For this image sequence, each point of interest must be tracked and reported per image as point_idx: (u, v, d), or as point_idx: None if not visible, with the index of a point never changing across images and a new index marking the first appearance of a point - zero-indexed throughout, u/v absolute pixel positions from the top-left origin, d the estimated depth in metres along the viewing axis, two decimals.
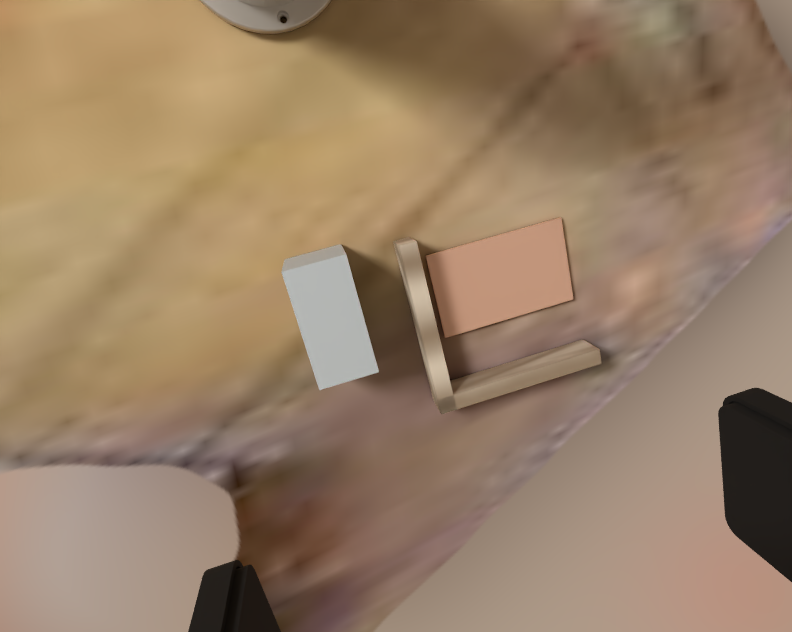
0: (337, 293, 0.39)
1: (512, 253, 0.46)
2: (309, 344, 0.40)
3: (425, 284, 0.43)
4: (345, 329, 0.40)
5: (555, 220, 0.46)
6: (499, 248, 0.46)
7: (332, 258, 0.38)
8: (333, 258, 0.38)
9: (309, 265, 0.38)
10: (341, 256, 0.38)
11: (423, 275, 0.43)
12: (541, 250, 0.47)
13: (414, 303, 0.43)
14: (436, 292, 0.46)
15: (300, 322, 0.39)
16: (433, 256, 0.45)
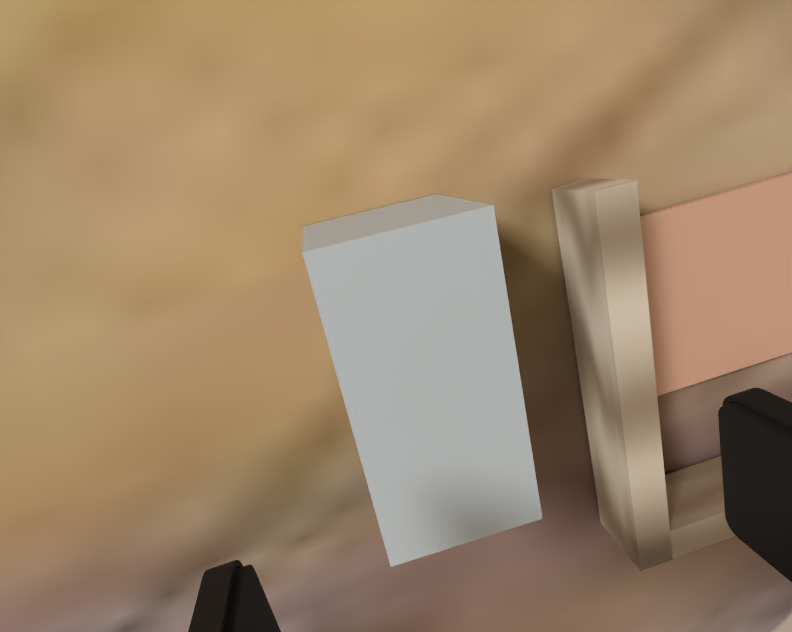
0: (459, 318, 0.14)
1: None
2: (373, 456, 0.14)
3: (643, 289, 0.18)
4: (470, 416, 0.15)
5: None
6: (776, 207, 0.21)
7: (452, 216, 0.13)
8: (456, 216, 0.13)
9: (386, 235, 0.13)
10: (479, 211, 0.13)
11: (641, 267, 0.17)
12: None
13: (613, 335, 0.18)
14: None
15: (352, 398, 0.14)
16: None
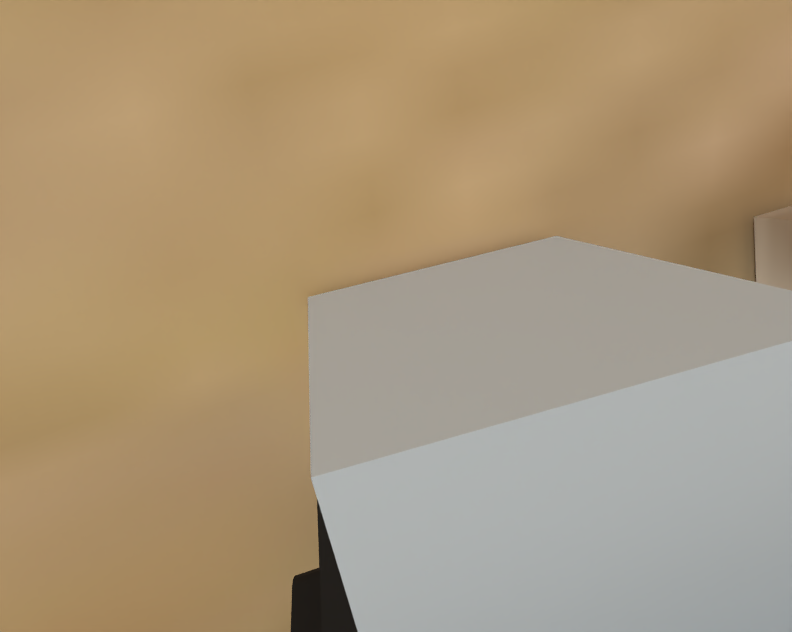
0: (740, 611, 0.05)
1: None
2: None
3: None
4: None
5: None
6: None
7: (766, 347, 0.04)
8: (778, 348, 0.04)
9: (576, 412, 0.04)
10: None
11: None
12: None
13: None
14: None
15: None
16: None
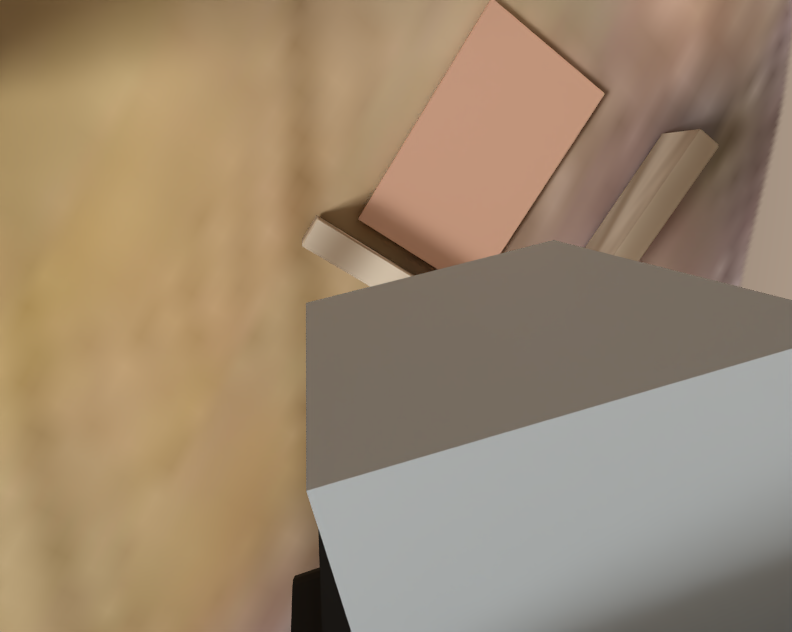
0: (736, 619, 0.05)
1: (467, 111, 0.27)
2: None
3: (382, 261, 0.25)
4: None
5: (487, 10, 0.26)
6: (443, 120, 0.27)
7: (759, 357, 0.04)
8: (771, 358, 0.04)
9: (570, 424, 0.04)
10: None
11: (368, 253, 0.25)
12: (503, 69, 0.27)
13: None
14: (413, 250, 0.28)
15: None
16: (367, 211, 0.27)
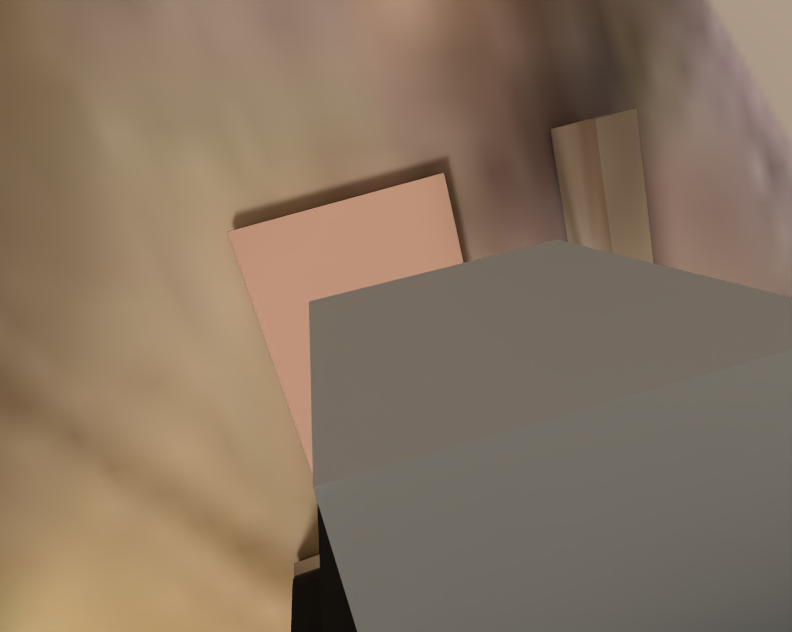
0: (741, 618, 0.05)
1: None
2: None
3: None
4: None
5: (236, 247, 0.18)
6: None
7: (768, 356, 0.04)
8: (780, 357, 0.04)
9: (578, 422, 0.04)
10: None
11: None
12: (315, 275, 0.19)
13: None
14: None
15: None
16: None
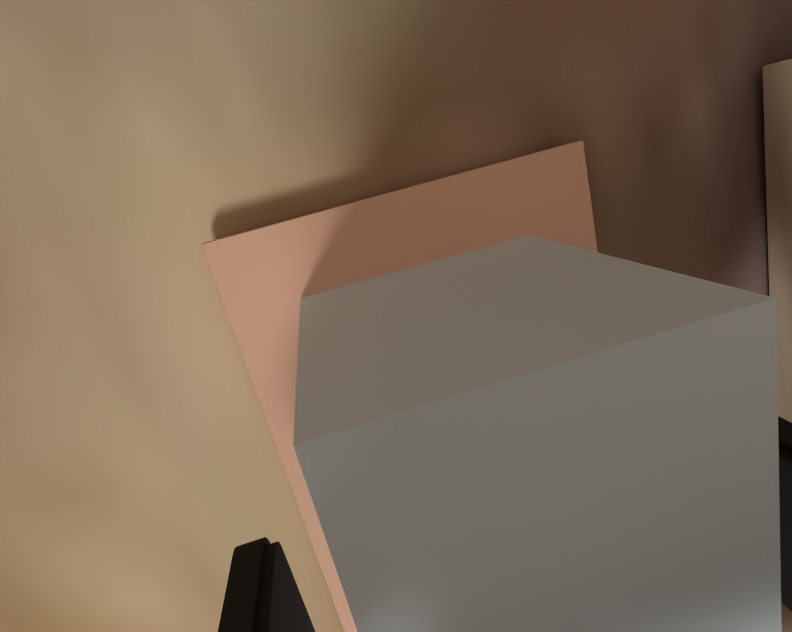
0: (668, 556, 0.06)
1: None
2: None
3: None
4: None
5: (216, 272, 0.10)
6: None
7: (673, 329, 0.05)
8: (683, 330, 0.05)
9: (511, 387, 0.05)
10: (740, 314, 0.05)
11: None
12: None
13: None
14: None
15: None
16: None
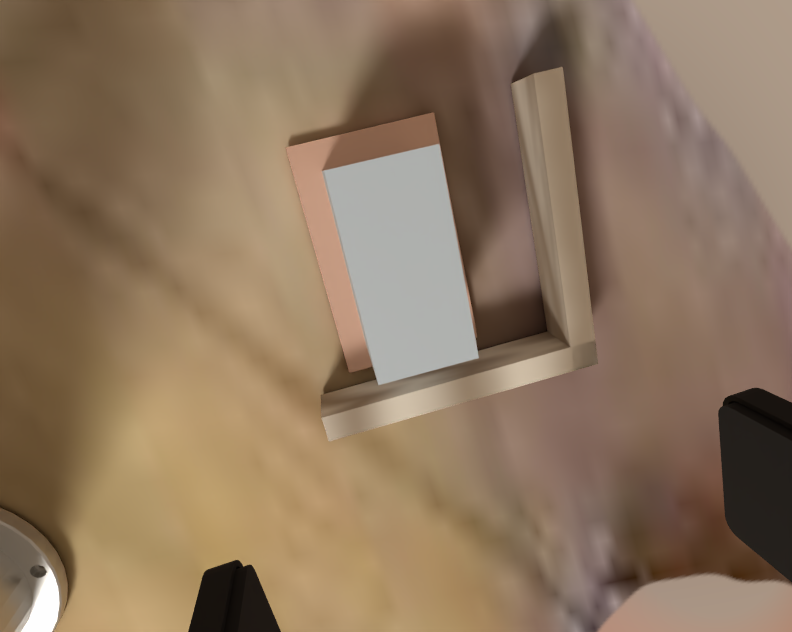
0: (419, 215, 0.22)
1: None
2: (366, 305, 0.23)
3: (388, 400, 0.28)
4: (428, 282, 0.23)
5: (290, 158, 0.26)
6: (338, 258, 0.28)
7: (414, 150, 0.21)
8: (416, 150, 0.21)
9: (373, 161, 0.21)
10: (430, 147, 0.21)
11: (374, 404, 0.28)
12: None
13: (417, 414, 0.28)
14: None
15: (353, 265, 0.22)
16: (350, 362, 0.30)
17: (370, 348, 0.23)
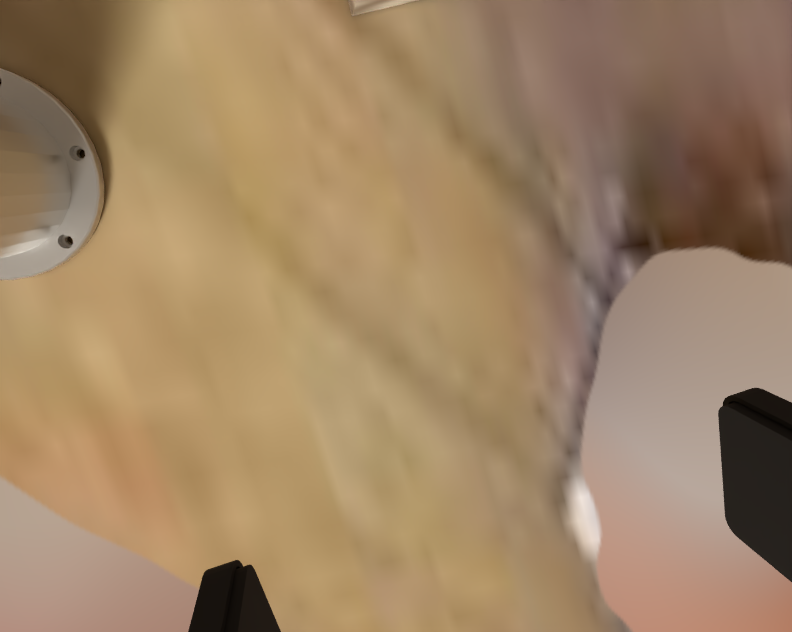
0: None
1: None
2: None
3: None
4: None
5: None
6: None
7: None
8: None
9: None
10: None
11: None
12: None
13: None
14: None
15: None
16: None
17: None
